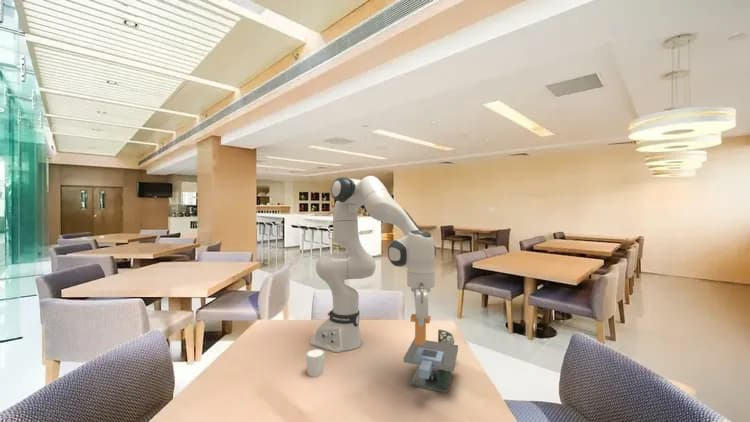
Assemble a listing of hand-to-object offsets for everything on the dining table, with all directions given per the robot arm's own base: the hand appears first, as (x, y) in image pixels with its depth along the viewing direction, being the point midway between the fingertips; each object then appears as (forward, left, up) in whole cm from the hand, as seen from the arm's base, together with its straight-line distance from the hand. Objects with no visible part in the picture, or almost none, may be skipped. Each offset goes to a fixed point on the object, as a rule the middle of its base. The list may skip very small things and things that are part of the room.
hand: (420, 322), depth 100 cm
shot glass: (-37, -3, -22) cm, 43 cm away
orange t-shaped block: (0, 0, -6) cm, 6 cm away
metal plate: (+3, +7, -22) cm, 23 cm away
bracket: (+3, -2, -13) cm, 14 cm away
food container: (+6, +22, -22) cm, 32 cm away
